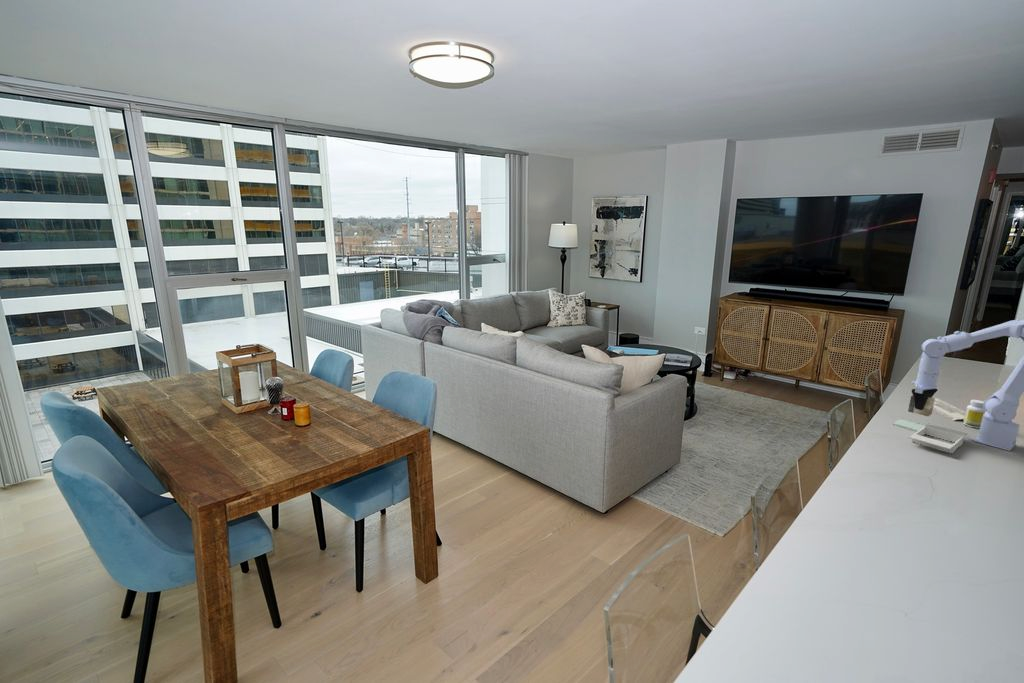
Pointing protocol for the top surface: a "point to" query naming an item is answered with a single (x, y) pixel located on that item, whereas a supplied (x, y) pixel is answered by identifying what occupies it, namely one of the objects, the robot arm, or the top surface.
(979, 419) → the supplement bottle
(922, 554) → the top surface
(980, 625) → the top surface
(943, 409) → the newspaper
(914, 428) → the tile
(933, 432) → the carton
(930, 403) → the block
